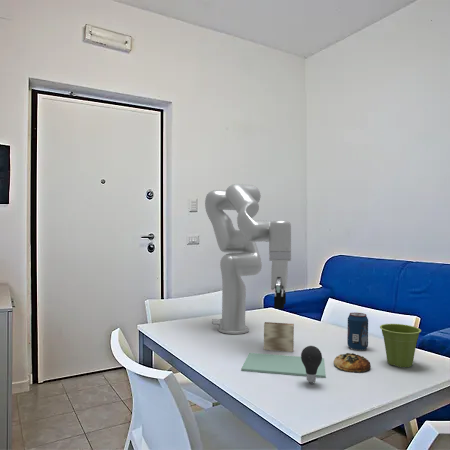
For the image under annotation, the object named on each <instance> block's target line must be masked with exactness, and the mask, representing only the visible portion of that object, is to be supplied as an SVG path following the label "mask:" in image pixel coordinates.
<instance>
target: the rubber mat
mask: <svg viewBox="0 0 450 450" xmlns="http://www.w3.org/2000/svg"><path fill="white" fill-rule="evenodd" d="M240 371H242V372H253V373H262V374H263V373H264V374H276V375H287V376H297V377H298V376H299V377H307V374H306V369H305V366H304V364H303V363H302V360H301V356H297V355H284V354H270V353H269V354H268V353H257V352H248V354H247V357H246V359H245V360H244V362H243V365H242V366H241V370H240ZM326 376H327V373H326V364H325V358H324V357H322V361H321V364H320V365H319V367H318V369H317V373H316V378H321V379H323V378H325V379H326V378H327V377H326Z"/></svg>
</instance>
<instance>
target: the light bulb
mask: <svg viewBox="0 0 450 450" xmlns="http://www.w3.org/2000/svg"><path fill="white" fill-rule="evenodd" d="M300 357H301V360H302V363H303V364H304V366H305V369H306V374H307V376H306V381H307V382H308V383H309V384H312V385H313V384H314V383H315V382H316V380H317V377H316V373H317V369H318V367H319V365H320V364H321V361H322V358H323V355H322V352H321V350H320V349H319V348H318V347H316V346H314V345H307V346H305V347H304V348H303V349H302V350H301V353H300Z"/></svg>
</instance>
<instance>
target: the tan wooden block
mask: <svg viewBox="0 0 450 450" xmlns="http://www.w3.org/2000/svg"><path fill="white" fill-rule="evenodd" d="M294 327H295V324H294V323H288V322H287V323H286V322H285V323H284V322H272V321H271V322H270V321H268V322H267V321H264V323H263V351H274V352H275V351H276V352H289V353H290V352H291V353H293V352H294V345H295V344H294V343H295V341H294V339H295V337H294V333H295V332H294V331H295V329H294Z"/></svg>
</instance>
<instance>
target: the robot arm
mask: <svg viewBox="0 0 450 450" xmlns="http://www.w3.org/2000/svg"><path fill="white" fill-rule="evenodd" d="M261 197H262V196H261V191H260V189H259V188H258V187H257V186H256V185H253V184H243V183H242V184H241V183H234V184H231V185H228V187H227V188H226V190H225V189H214V190H210V191H209V192H208V193H207V194H206V196H205V200H204V206H205V207H204V209H205V212H206V216H207V217H208V219H209V221H210V223H211V225H212V228H213V232H214V236H215V238H216V242H217V246H218V249H219V250H220V251H221V252H222V253H225V254H224V255H222V257H221V258H220V265H219V266H220V267H219V268H220V272H221V273H220V274H221V280H222V286H221V287H222V288H221V291H222V292H221V295H222V298H221V301H222V302H221V318H219V319H216V318H215V319H214V318H212V319H211V325H213V326H217V325H218V327H217V331H219V332H220V333H222V334H227V335H242V334H246V333H249V330H250V327H249V326H247V325H246V300H247V299H246V297H247V296H246V293H247V292H246V291H247V289H246V285H245V282H244V281H243V279H242V277H247V276H249V277H250V276H256V275H258V274H259V273H260V272H261V271H262V266H263V263H262V258H261V255H260V252H259V249H258V246H257V242H258V243H259V242H267V243H269V244H268V259H269V260H268V261H269V262H271V269H270V270H271V271H270V272H271V273H270V274H271V275H270V276H271V277H270V278H271V280H270V281H271V282H270V289H271V290H272V291H274V296H273V308H274V309H275V310H284V309H285V305H286V303H287V300H286V299H287V295H286V289H287V286H288V268H289V267H288V262H291V261H292V224H291V222H290V221H287V220H254V219H252V218H254V217H255V216H256V215H257V214H258V213H259V210H260V205H259V202H260V200H261ZM225 211H236V212H237V217H236V221H237V222H236V223H237V228H238V229H236V228H235V227H234V223H233V221H232V219H231V217H230V216H229V215H228V214H227V213H226V212H225Z"/></svg>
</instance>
